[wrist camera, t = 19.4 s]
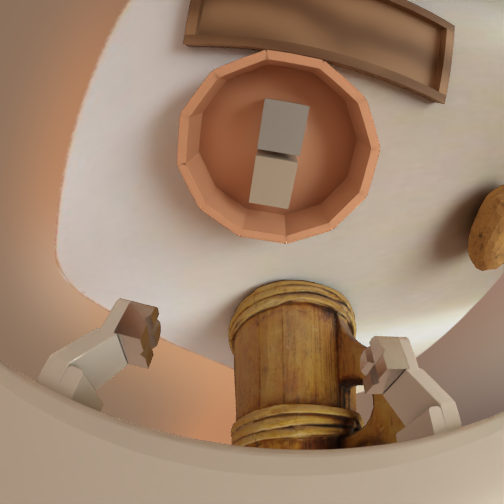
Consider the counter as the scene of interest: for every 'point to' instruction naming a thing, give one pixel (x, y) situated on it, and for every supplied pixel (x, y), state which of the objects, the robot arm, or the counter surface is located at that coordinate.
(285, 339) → the tankard
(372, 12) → the parts tray
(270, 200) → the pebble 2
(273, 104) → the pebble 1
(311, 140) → the bowl
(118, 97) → the counter surface
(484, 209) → the potato
